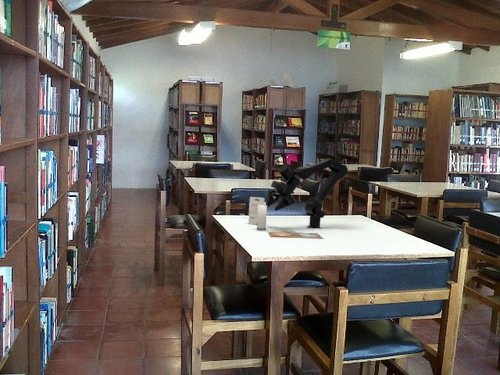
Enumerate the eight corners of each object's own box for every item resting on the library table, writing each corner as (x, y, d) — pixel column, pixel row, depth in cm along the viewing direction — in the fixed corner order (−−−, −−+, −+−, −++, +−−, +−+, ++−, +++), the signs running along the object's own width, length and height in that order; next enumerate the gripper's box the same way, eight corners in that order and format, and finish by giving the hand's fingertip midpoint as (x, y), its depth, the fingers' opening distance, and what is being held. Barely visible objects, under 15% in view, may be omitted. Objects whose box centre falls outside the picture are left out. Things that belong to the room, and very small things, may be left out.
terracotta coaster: (270, 232, 249) (271, 231, 249) (289, 233, 249) (289, 232, 249) (273, 236, 240) (273, 235, 240) (292, 236, 241) (292, 236, 241)
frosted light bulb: (256, 230, 257) (257, 204, 255) (265, 230, 257) (266, 204, 256) (257, 232, 252) (258, 205, 251) (266, 232, 253) (267, 206, 251)
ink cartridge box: (265, 224, 276) (267, 197, 274) (263, 225, 271) (265, 198, 270) (250, 222, 278) (251, 195, 277) (248, 224, 273) (249, 196, 272)
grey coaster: (297, 233, 250) (297, 232, 250) (315, 234, 251) (315, 233, 251) (300, 237, 241) (300, 236, 241) (319, 237, 242) (319, 237, 242)
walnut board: (267, 233, 251) (267, 231, 250) (317, 234, 253) (317, 233, 253) (270, 238, 238) (270, 237, 238) (323, 240, 240) (323, 238, 240)
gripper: (271, 173, 265) (251, 195, 260) (291, 177, 249) (271, 200, 244) (282, 188, 270) (263, 210, 265) (303, 193, 254) (283, 216, 249)
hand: (270, 208), depth 256 cm, fingers open, 9 cm apart
